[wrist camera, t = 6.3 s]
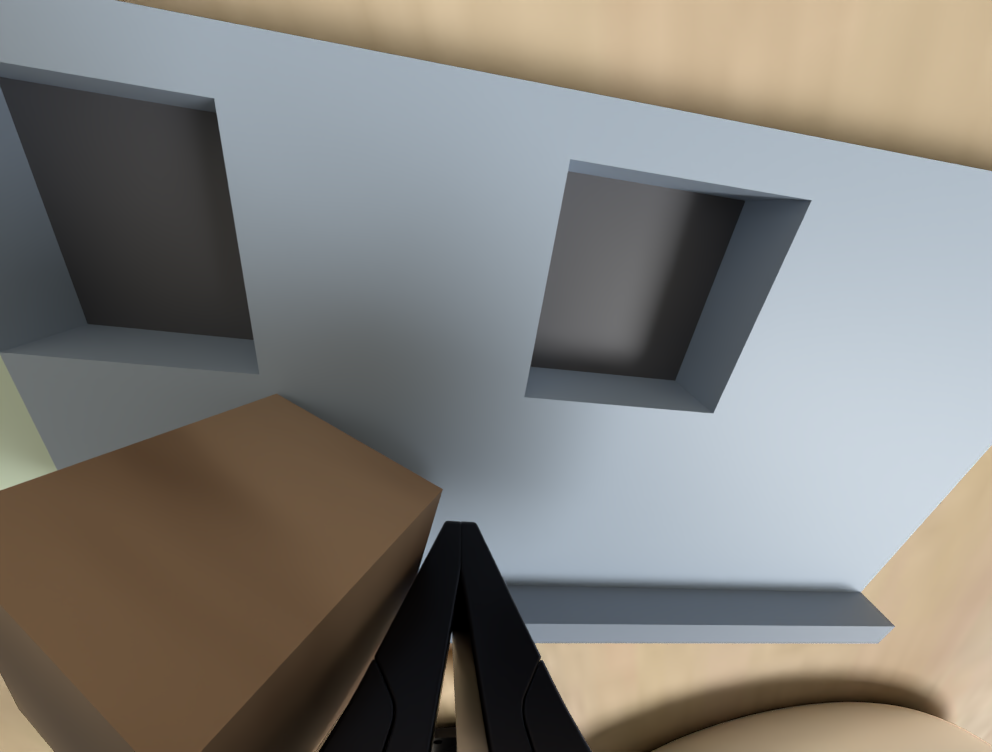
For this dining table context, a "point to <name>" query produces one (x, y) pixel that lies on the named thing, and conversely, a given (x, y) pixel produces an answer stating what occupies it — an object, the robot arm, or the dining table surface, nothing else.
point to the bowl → (832, 731)
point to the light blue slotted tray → (500, 309)
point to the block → (206, 584)
